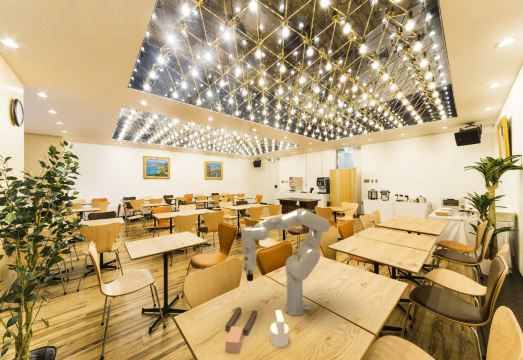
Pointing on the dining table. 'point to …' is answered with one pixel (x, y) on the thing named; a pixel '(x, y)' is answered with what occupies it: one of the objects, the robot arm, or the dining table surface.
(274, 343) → the base with upright slab
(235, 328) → the block
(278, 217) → the robot arm
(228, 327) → the chute
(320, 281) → the dining table surface
